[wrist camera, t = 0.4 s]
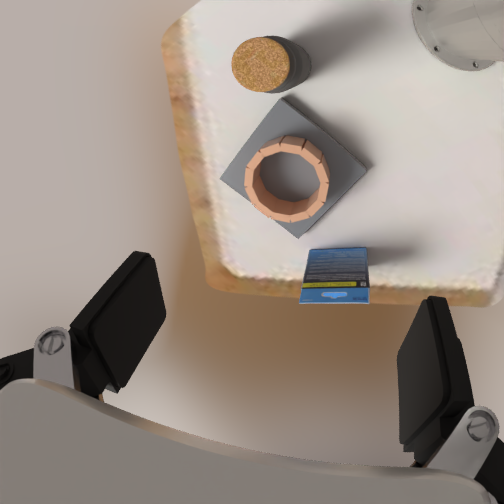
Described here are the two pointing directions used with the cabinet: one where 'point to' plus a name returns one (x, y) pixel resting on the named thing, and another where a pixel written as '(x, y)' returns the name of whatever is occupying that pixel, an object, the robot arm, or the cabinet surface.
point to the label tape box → (336, 276)
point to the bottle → (270, 64)
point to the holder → (292, 169)
